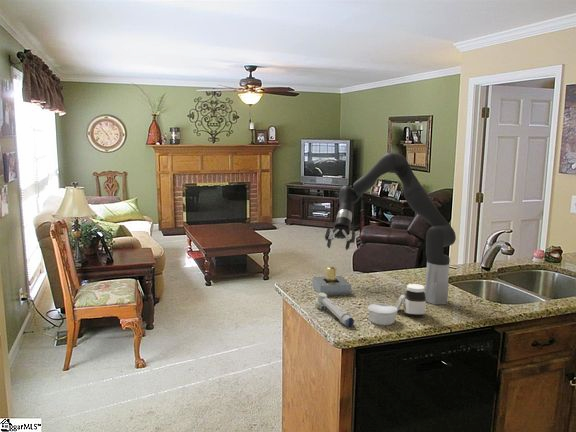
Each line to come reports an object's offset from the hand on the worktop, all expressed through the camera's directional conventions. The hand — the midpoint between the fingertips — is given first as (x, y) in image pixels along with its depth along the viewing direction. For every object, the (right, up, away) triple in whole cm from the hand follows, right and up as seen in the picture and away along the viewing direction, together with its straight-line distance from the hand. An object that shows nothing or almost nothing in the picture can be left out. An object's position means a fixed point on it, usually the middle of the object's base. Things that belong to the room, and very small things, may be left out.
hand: (337, 248), depth 229 cm
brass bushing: (-4, -18, -8) cm, 20 cm away
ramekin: (+13, -25, -44) cm, 52 cm away
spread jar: (+25, -24, -35) cm, 49 cm away
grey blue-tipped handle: (-6, -24, -39) cm, 46 cm away
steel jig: (-4, -19, -8) cm, 21 cm away
